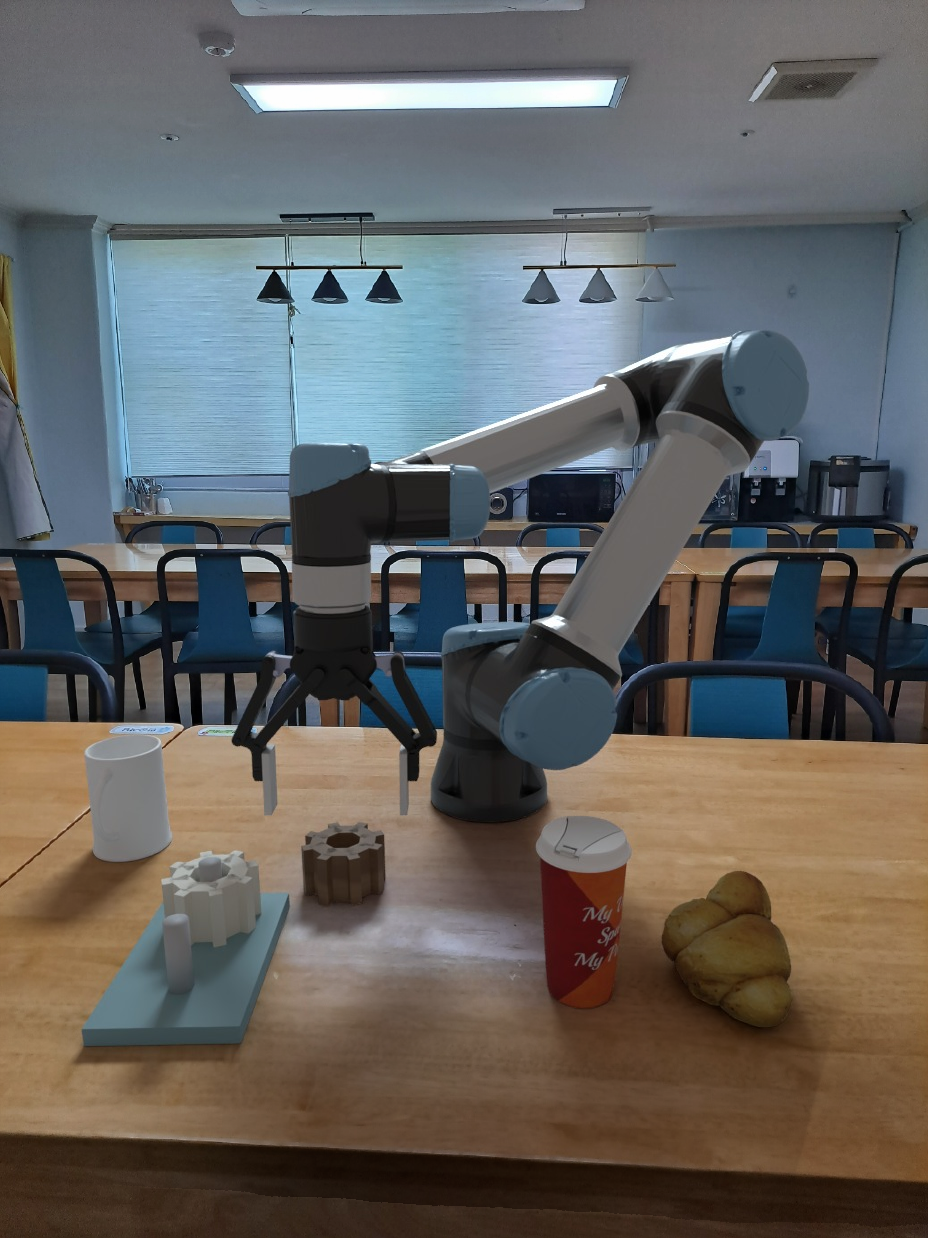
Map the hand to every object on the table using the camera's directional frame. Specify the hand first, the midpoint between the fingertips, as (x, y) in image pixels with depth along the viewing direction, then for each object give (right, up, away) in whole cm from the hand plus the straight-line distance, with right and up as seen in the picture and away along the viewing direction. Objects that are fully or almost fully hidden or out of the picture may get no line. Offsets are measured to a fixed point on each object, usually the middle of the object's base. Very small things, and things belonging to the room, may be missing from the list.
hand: (337, 810), depth 82 cm
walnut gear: (+1, -8, +2) cm, 8 cm away
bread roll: (+35, -12, -15) cm, 40 cm away
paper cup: (+23, -12, -14) cm, 29 cm away
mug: (-26, -7, +9) cm, 28 cm away
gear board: (-10, -11, -11) cm, 19 cm away
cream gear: (-10, -9, -7) cm, 15 cm away
